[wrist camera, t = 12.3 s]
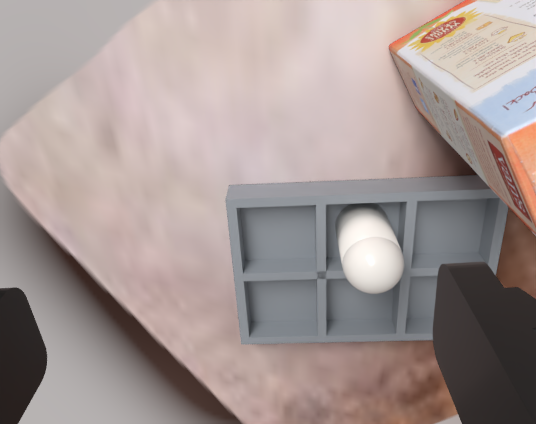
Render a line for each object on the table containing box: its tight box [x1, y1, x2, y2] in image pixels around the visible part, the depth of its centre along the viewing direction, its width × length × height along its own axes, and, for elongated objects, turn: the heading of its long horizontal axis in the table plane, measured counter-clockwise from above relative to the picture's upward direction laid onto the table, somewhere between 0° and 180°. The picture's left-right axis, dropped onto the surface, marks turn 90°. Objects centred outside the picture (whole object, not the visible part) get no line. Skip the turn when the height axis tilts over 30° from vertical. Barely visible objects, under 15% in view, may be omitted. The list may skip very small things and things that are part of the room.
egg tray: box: [226, 175, 509, 344], centre depth 43 cm, size 22×15×3 cm
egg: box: [335, 203, 404, 294], centre depth 38 cm, size 5×5×8 cm
